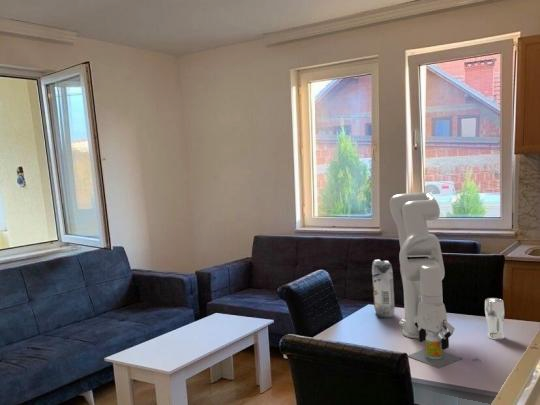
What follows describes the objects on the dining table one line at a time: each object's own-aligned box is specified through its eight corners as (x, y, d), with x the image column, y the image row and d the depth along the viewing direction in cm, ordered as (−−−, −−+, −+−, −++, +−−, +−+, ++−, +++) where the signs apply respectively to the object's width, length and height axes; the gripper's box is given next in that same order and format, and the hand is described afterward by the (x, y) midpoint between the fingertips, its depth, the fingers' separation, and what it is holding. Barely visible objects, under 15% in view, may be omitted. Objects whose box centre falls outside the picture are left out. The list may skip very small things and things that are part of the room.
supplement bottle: (424, 357, 166) (423, 331, 165) (428, 352, 170) (427, 327, 169) (440, 360, 162) (438, 333, 162) (443, 355, 167) (442, 329, 166)
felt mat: (407, 356, 169) (407, 355, 169) (430, 347, 175) (430, 346, 175) (439, 368, 157) (439, 367, 157) (462, 358, 164) (462, 357, 164)
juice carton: (392, 311, 223) (389, 257, 222) (395, 318, 213) (392, 261, 211) (373, 312, 224) (370, 258, 223) (376, 318, 214) (373, 262, 212)
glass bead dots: (471, 360, 162) (471, 359, 162) (476, 357, 163) (476, 357, 163) (478, 362, 160) (478, 361, 160) (482, 360, 161) (482, 359, 161)
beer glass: (507, 340, 178) (506, 302, 177) (488, 340, 179) (487, 302, 178) (502, 334, 184) (500, 297, 184) (484, 333, 186) (482, 297, 185)
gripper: (405, 296, 170) (408, 340, 171) (445, 305, 156) (447, 354, 157) (419, 292, 174) (421, 336, 175) (459, 301, 160) (461, 348, 161)
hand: (433, 344), depth 166 cm, fingers open, 9 cm apart
